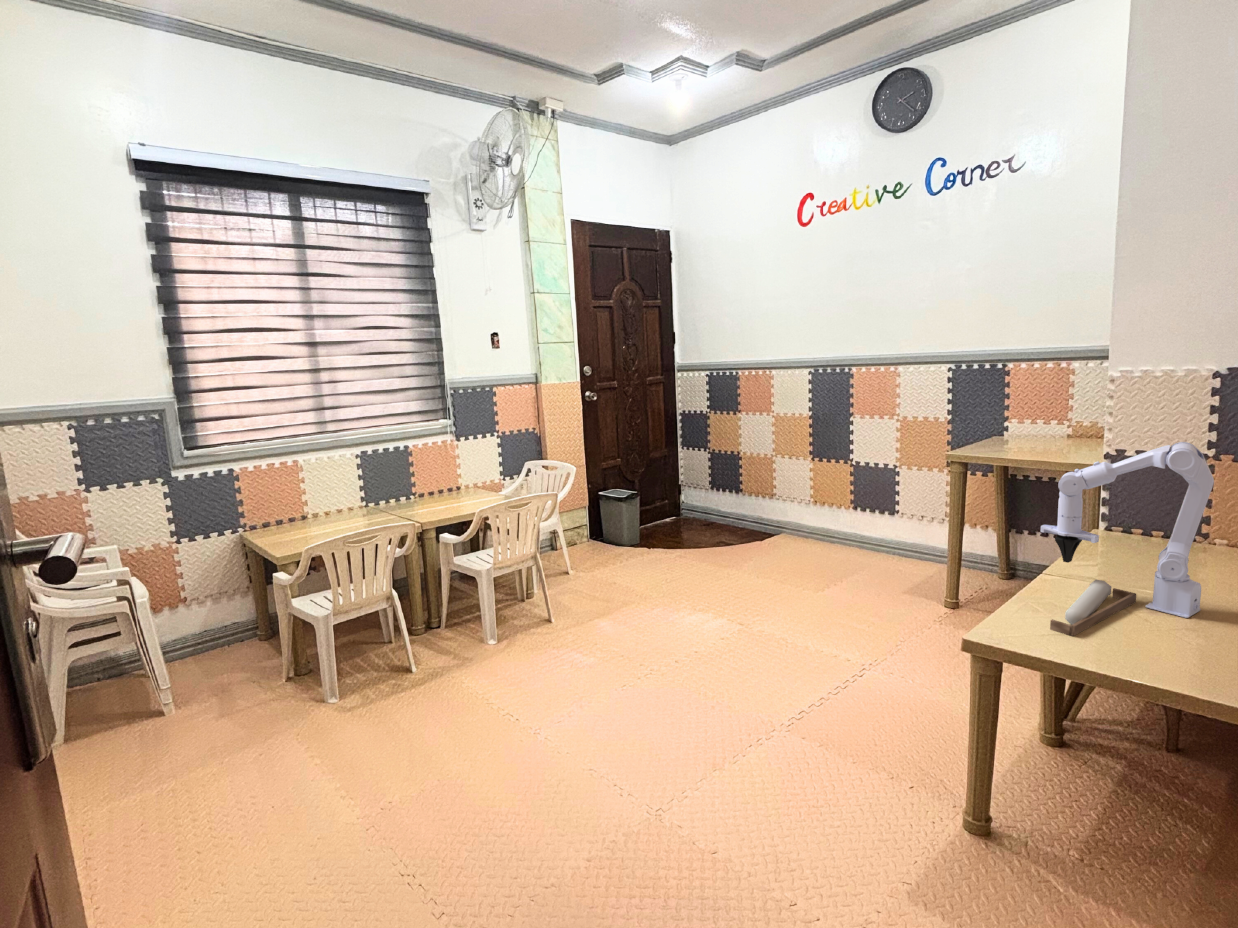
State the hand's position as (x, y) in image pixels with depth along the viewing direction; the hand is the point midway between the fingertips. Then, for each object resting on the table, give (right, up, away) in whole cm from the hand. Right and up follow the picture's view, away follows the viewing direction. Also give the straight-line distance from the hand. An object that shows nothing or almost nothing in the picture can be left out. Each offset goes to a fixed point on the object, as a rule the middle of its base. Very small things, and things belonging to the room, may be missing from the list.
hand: (1067, 561), depth 200 cm
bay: (-1, -12, -13) cm, 18 cm away
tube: (-1, -12, -10) cm, 16 cm away
